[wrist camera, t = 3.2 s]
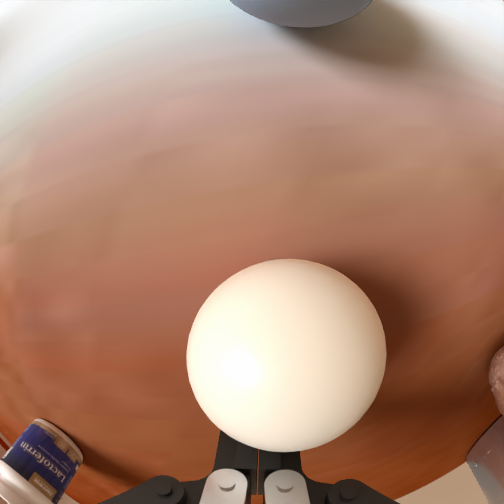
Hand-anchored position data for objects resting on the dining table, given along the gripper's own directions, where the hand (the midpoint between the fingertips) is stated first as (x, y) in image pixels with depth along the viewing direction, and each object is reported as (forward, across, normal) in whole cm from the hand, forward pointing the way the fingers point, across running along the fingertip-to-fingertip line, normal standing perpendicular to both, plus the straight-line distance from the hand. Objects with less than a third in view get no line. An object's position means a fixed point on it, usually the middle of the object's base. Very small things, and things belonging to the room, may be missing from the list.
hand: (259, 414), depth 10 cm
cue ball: (-1, -1, -4) cm, 4 cm away
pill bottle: (+2, +18, +10) cm, 21 cm away
